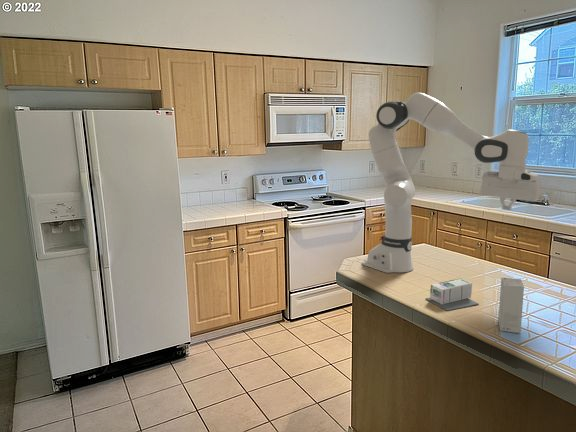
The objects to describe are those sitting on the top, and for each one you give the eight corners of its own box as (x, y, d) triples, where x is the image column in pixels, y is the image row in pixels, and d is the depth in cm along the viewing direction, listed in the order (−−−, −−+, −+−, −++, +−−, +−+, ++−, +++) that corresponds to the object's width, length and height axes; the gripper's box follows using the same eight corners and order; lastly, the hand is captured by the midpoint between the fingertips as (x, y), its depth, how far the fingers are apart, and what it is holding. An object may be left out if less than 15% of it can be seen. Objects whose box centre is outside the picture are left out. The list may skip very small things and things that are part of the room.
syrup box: (472, 282, 156) (442, 288, 150) (471, 298, 158) (441, 304, 151) (460, 278, 162) (430, 283, 155) (459, 293, 163) (429, 299, 157)
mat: (425, 299, 158) (425, 298, 157) (456, 293, 163) (456, 292, 163) (446, 311, 148) (446, 309, 147) (478, 304, 153) (478, 303, 153)
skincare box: (520, 334, 131) (526, 287, 128) (498, 331, 133) (503, 285, 130) (517, 322, 139) (522, 278, 136) (496, 319, 141) (501, 276, 138)
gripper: (480, 171, 168) (475, 206, 171) (538, 176, 155) (532, 215, 157) (486, 170, 173) (481, 204, 176) (543, 175, 159) (537, 212, 162)
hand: (506, 209), depth 166 cm, fingers closed
